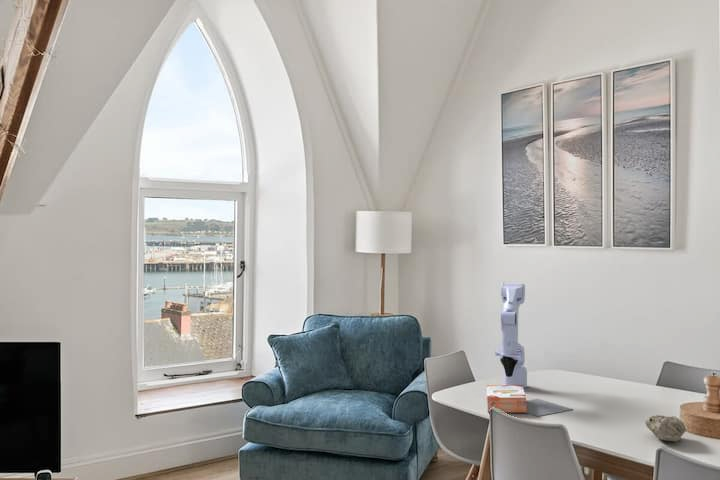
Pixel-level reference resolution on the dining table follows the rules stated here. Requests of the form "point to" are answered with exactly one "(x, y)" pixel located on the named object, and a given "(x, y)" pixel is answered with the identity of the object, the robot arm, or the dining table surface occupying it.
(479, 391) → the dining table surface
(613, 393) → the dining table surface
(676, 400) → the dining table surface
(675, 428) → the pumice stone
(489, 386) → the cracker box
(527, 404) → the mat
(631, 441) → the dining table surface
